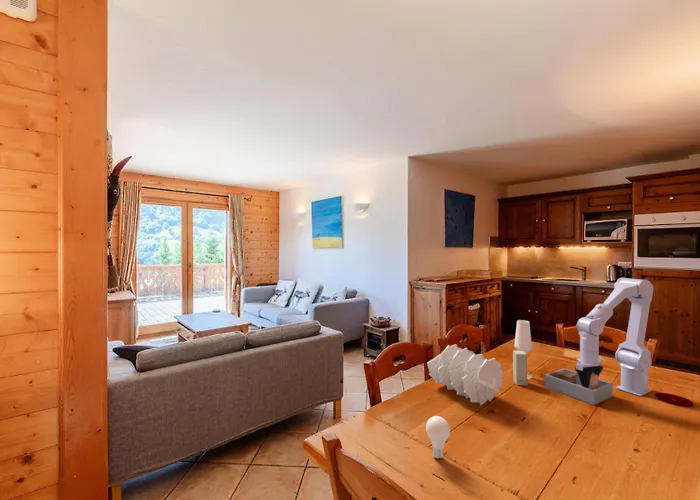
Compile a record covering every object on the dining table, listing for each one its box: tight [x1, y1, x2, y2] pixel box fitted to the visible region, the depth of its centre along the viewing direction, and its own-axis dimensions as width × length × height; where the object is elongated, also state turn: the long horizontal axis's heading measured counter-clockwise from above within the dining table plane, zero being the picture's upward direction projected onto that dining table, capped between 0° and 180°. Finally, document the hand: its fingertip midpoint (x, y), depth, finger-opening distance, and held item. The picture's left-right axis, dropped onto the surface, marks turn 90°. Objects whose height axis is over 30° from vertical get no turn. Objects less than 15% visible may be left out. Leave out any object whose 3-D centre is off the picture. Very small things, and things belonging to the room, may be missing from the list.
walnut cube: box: [556, 371, 576, 384], centre depth 133 cm, size 5×5×5 cm
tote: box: [544, 368, 614, 406], centre depth 129 cm, size 14×18×5 cm
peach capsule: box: [581, 373, 599, 390], centre depth 125 cm, size 5×5×7 cm
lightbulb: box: [425, 415, 451, 459], centre depth 90 cm, size 6×6×11 cm
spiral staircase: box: [426, 343, 504, 406], centre depth 127 cm, size 18×18×25 cm
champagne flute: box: [514, 319, 533, 380], centre depth 145 cm, size 7×7×24 cm
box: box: [512, 350, 528, 386], centre depth 137 cm, size 5×4×13 cm
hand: (588, 385), depth 126 cm, fingers closed on peach capsule, 5 cm apart
